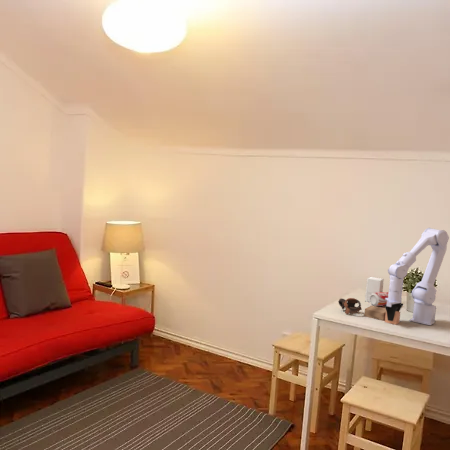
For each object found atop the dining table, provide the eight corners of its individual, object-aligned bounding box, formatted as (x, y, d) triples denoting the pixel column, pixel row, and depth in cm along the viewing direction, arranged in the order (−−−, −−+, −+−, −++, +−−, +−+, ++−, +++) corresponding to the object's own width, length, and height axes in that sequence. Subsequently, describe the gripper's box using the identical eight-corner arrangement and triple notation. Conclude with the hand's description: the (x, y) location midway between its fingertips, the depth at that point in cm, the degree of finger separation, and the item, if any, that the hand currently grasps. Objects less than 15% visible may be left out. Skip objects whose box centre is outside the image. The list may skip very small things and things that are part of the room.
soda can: (371, 289, 248) (389, 289, 253) (366, 300, 251) (384, 299, 256) (379, 298, 242) (397, 297, 247) (374, 309, 245) (392, 308, 250)
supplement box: (382, 301, 259) (384, 278, 258) (378, 304, 253) (380, 280, 251) (368, 298, 263) (370, 276, 261) (364, 301, 256) (366, 278, 255)
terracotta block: (399, 322, 220) (400, 312, 220) (395, 324, 216) (396, 314, 216) (388, 320, 223) (389, 309, 223) (384, 322, 219) (385, 311, 219)
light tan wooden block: (389, 317, 229) (390, 309, 228) (382, 321, 221) (383, 313, 221) (370, 313, 234) (371, 305, 234) (364, 316, 227) (364, 308, 226)
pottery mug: (363, 313, 234) (365, 301, 229) (354, 325, 228) (356, 312, 223) (341, 302, 240) (343, 290, 235) (331, 313, 234) (333, 301, 229)
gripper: (392, 286, 226) (389, 314, 228) (381, 291, 215) (378, 320, 216) (407, 289, 222) (404, 317, 223) (396, 294, 211) (393, 324, 212)
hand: (392, 319), depth 220 cm, fingers closed on terracotta block, 5 cm apart
